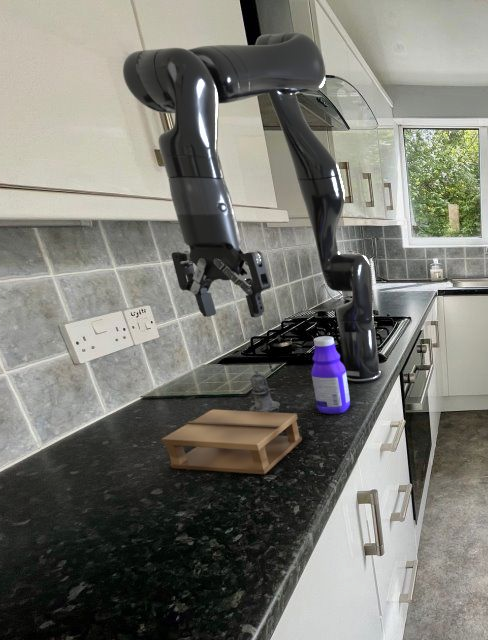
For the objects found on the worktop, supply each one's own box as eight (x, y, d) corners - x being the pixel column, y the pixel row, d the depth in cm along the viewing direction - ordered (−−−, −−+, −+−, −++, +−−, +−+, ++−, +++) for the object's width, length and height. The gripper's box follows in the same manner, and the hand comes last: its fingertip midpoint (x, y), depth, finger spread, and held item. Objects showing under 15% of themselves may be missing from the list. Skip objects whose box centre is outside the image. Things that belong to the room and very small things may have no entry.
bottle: (355, 405, 98) (344, 335, 91) (344, 416, 92) (332, 342, 86) (326, 404, 98) (313, 334, 92) (314, 414, 93) (300, 341, 87)
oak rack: (220, 435, 84) (212, 407, 82) (302, 440, 83) (296, 412, 80) (171, 468, 73) (160, 437, 71) (264, 474, 71) (256, 443, 69)
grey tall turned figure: (270, 428, 87) (258, 376, 82) (246, 426, 88) (233, 374, 84) (288, 416, 92) (278, 366, 88) (266, 414, 93) (254, 364, 89)
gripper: (264, 211, 65) (285, 311, 72) (182, 212, 67) (210, 310, 73) (232, 212, 58) (259, 322, 65) (141, 212, 60) (176, 320, 66)
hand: (233, 316), depth 69 cm, fingers open, 8 cm apart
